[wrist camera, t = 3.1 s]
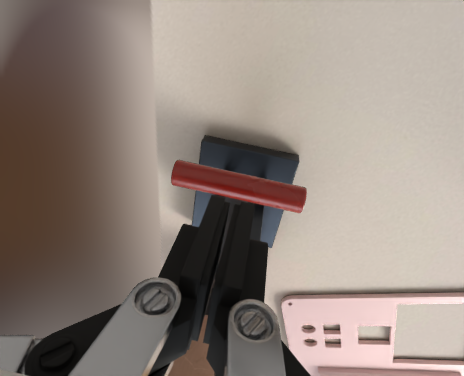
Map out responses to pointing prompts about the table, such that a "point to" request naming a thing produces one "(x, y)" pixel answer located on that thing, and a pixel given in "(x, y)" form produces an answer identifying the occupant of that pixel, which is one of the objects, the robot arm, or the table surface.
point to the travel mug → (195, 355)
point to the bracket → (248, 163)
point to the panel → (351, 349)
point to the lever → (238, 189)
